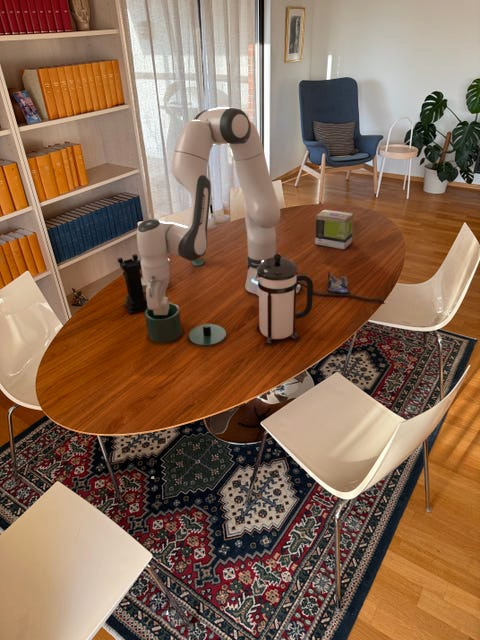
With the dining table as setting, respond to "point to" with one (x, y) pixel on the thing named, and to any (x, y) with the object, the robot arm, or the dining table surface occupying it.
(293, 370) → the dining table surface
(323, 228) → the tea box
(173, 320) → the green hollow cylinder
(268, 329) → the coffee press
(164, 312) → the block
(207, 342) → the lid
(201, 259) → the cupcake
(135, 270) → the chess piece
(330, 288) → the snack package
